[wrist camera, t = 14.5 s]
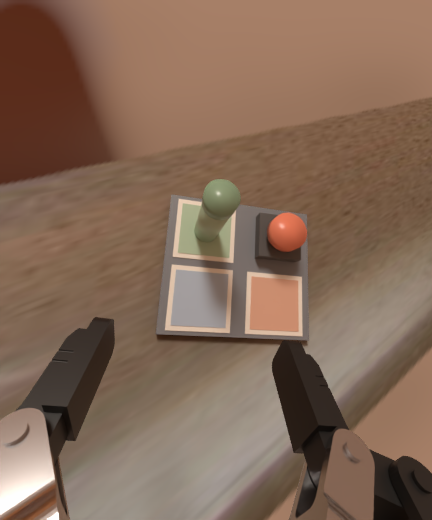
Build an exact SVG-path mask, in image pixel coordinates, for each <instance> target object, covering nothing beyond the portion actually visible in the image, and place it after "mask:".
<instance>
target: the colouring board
mask: <svg viewBox="0 0 432 520" xmlns="http://www.w3.org/2000/svg"><path fill="white" fill-rule="evenodd" d="M201 204H202V199H198V198H192V197H185V196H178V195H171V204H170V213H169V222H168V231H167V239H166V248H165V257H164V266H163V275H162V284H161V292H160V301H159V310H158V319H157V328H156V334H164V335H188V336H213V337H237V338H261V339H285V340H309V313H308V256H307V238H306V241H305V242H304V244H303V245H302V246H301V247H299V248H297V249H295V250H293V251H290V252H282V251H279V250H277V249H275V248H274V247H273V246H272V245H271V243H270V242H269V240H268V237H267V228H268V225H269V223H270V222H271V221H272V220H273V219H274V218H275V217H277V216H278V215H280V214H282V213H292V214H295V215H297V216H298V217H300V218H301V219H302V221H303V222H304V224H305V226H306V229H307V215H306V214H300V213H293V212H286V211H279V210H273V209H266V208H259V207H252V206H246V205H239V206H238V208H237V209H236V211H235V212H234V214H233V215H232V216H231V217H230V218H229V219H228V221H227V222H226V224H225V225H224V227H223V228H222V230H221V231H220V232H219V234H218V235H217V237H216V238H215V239H214V240H213V241H211V242H202V241H200V240H199V239H198V238H197V237H196V235H195V232H194V228H195V225H196V221H197V218H198V214H199V211H200V208H201Z"/></svg>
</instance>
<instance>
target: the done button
mask: <svg viewBox="0 0 432 520" xmlns="http://www.w3.org/2000/svg"><path fill="white" fill-rule="evenodd" d="M267 237H268V240H269V242H270V243H271V245H272V246H273V247H274V248H275V249H277V250H279V251H282V252H290V251H293V250H295V249H297V248H299V247H301V246H302V245H303V244H304V242H305V241H306V238H307V229H306V226H305V224H304V222H303V221H302V219H301V218H300V217H298V216H297V215H295V214H292V213H282V214H280V215H278V216H277V217H275V218H274V219H273V220H272V221H271V222H270V223H269V225H268V228H267Z"/></svg>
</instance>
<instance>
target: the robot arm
mask: <svg viewBox="0 0 432 520" xmlns="http://www.w3.org/2000/svg"><path fill="white" fill-rule="evenodd" d="M114 343H115V338H114V320H113V319H106V318H98V317H95V318H94V319H93V320H92V322H91V323H90V325H89V327H88V328H87V329H81V328H78V329H77V330H76V331H75V332H73V333H72V334H71V335H69V336H68V337H67V338H66V340H65V341H64V342H63V344H62V345H61V347H60V348H59V351H58V352H57V353H56V354H55V356H54V357H53V359H52V362H50V363H49V365H48V366H47V368H46V369H45V371H44V372H43V374H42V375H41V377H40V378H39V380H38V381H37V383H36V384H35V386H34V387H33V389H32V390H31V392H30V393H29V395H28V396H27V397H26V399H25V400H24V402H23V403H22V404H21V406H20V407H19V408H18V409H17V410H16V411H14V412H13V413H11V414H9V415H7V416H6V417H4V418H3V419H2V420H0V520H70V517H69V512H68V506H67V501H66V495H65V490H64V484H63V479H62V473H61V468H60V462H59V457H58V456H59V454H60V452H61V450H62V448H63V445H64V443H65V441H66V440H68V441H76V438H77V436H78V433H79V431H80V429H81V426H82V424H83V422H84V419H85V417H86V415H87V412H88V410H89V408H90V405H91V403H92V400H93V398H94V396H95V393H96V391H97V389H98V386H99V384H100V382H101V379H102V377H103V374H104V372H105V370H106V367H107V365H108V363H109V360H110V358H111V355H112V353H113V349H114ZM272 372H273V376H274V380H275V383H276V387H277V391H278V395H279V398H280V402H281V406H282V410H283V414H284V417H285V421H286V425H287V429H288V433H289V436H290V440H291V444H292V448H293V451H294V453H304V456H305V459H306V462H305V463H304V466H303V470H302V474H301V477H300V481H299V485H298V489H297V492H296V496H295V500H294V504H293V507H292V511H291V515H290V518H289V520H432V473H431V472H430V471H429V470H428V469H427V468H426V467H425V466H423V465H422V464H421V463H420V462H418V461H417V460H415V459H413V458H411V457H408V456H402V457H400V458H399V459H397V460H396V461H394V460H392V459H390V458H387V457H385V456H383V455H381V454H379V453H376V452H374V451H372V450H370V449H369V448H368V447H367V445H366V444H365V443H364V442H363V440H362V439H361V438H360V437H359V436H357V435H356V434H355V433H353V432H352V431H350V430H349V429H348V427H347V425H346V423H345V421H344V419H343V417H342V414H341V412H340V410H339V408H338V406H337V404H336V402H335V399H334V397H333V395H332V393H331V391H330V389H329V388H328V384H327V382H326V380H325V379H324V376H323V374H322V371H321V369H320V367H319V365H318V364H317V363H316V361H315V360H314V359H313V358H312V357H311V355H308V354H306V353H305V351H304V348H303V346H302V344H301V343H300V342H295V341H287V340H284V341H283V342H282V343H281V345H280V347H279V349H278V351H277V353H276V355H275V357H274V358H273V362H272Z"/></svg>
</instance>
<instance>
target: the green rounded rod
mask: <svg viewBox="0 0 432 520" xmlns="http://www.w3.org/2000/svg"><path fill="white" fill-rule="evenodd" d="M239 204H240V193H239V190H238V189H237V187H236V186H235V185H234V184H233V183H231V182H230V181H227V180H224V179H217V180H213V181H211V182H210V183H209V184H208V185H207V186H206V188H205V190H204V194H203V197H202V204H201V208H200V211H199V214H198V218H197V221H196V225H195V228H194V232H195V235H196V237H197V238H198V239H199V240H200V241H202V242H211V241H213V240H214V239H215V238H216V237H217V235H218V234H219V232H220V231H221V230H222V228H223V227H224V225H225V224H226V222H227V221H228V219H229V218H230V217H231V216H232V215H233V214H234V212H235V211H236V209H237V208H238V206H239Z"/></svg>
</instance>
